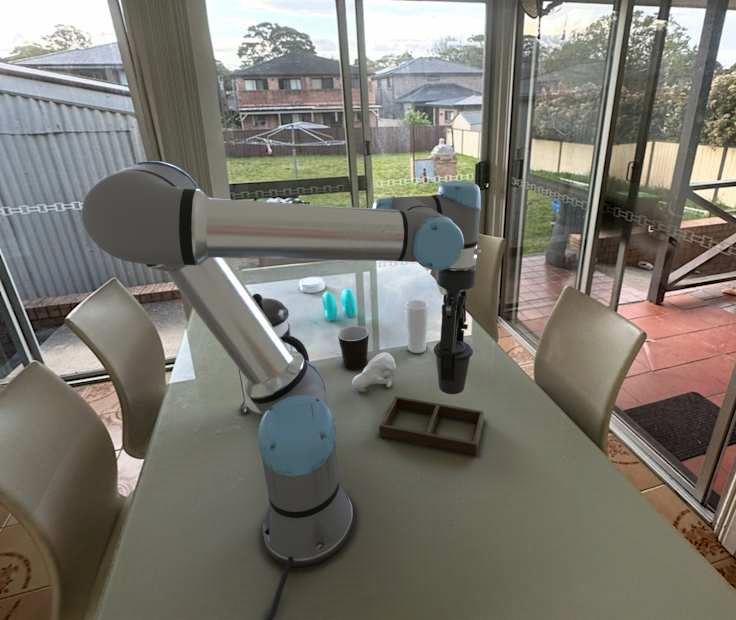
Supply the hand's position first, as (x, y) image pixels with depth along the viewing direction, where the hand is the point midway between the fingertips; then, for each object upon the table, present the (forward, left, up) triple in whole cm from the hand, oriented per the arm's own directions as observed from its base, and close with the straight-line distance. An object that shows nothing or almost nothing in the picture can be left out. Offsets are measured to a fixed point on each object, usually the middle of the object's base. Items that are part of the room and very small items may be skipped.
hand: (452, 367), depth 92 cm
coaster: (+69, +71, -18) cm, 101 cm away
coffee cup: (0, 0, -5) cm, 5 cm away
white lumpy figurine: (+13, +23, -18) cm, 32 cm away
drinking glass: (+34, +17, -18) cm, 42 cm away
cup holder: (+1, +4, -18) cm, 18 cm away
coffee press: (-1, +43, -18) cm, 47 cm away
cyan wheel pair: (+48, +49, -18) cm, 71 cm away
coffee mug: (+23, +32, -18) cm, 44 cm away
